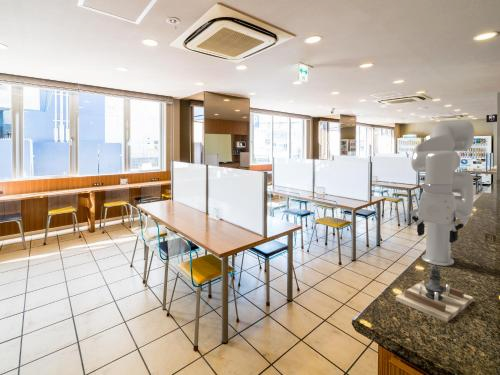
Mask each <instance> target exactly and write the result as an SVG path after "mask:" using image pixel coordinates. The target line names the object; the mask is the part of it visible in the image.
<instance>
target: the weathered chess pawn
mask: <svg viewBox="0 0 500 375" xmlns="http://www.w3.org/2000/svg"><path fill="white" fill-rule="evenodd" d="M429 273H430V274H429V275H428V277H429V280H430V281H429V283H426V284H425V287H426V290H427V292H428V293H426V294H425V296H426V297H428V298H430V299H432V300H434V298H435V292H438V301H440V300H443V297H442V296H441V294H442V293H443V292H444V290H445V288H444V287H443V286H441V285H440V284H441V279H442V276H441V268H440V267H439V266H438V265H436V264H434V265H431V266H430V268H429Z"/></svg>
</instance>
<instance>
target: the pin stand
mask: <svg viewBox="0 0 500 375" xmlns="http://www.w3.org/2000/svg"><path fill="white" fill-rule="evenodd" d="M429 281H430V279H428V278H426V279H424V280H422V281H419V282H418V283H416V284H415V285H413V286H412V287H411V286H410V288H408V289H406V290H404V291H402V292H400V293H399V294H397V295H396V296H395V302H399V303H401V304H403V305H406V306H409V307H410V308H413V309H416V310H417V311H420V312H421V313H424V314H427V315H430V316H431V317H434V318H436V319H439V320H441V321H443V322H446V323H448V322H450V320H452V319H453V318H454V317H456V316H457V315H458V314H460V313H461V312H462V311H463V310H465V308H466V307H468V306H469V305H470V304H472V303H473V302H474V296H471V295H468V294H465V290H461V289H458V288H454V287H452V286H450V284H448V283H446V285H445V284H443V283H440V285H441V286H443V287H444V288H445V290H444V292H443V293H442V294H441V296H442V297H443V300H440V301H438V292H435V298H434V300H432V299H430V298H428V297H426V296H425V294H426V293H428V292H427V290H426V287H425V284H426V283H429Z"/></svg>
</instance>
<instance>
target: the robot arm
mask: <svg viewBox="0 0 500 375" xmlns="http://www.w3.org/2000/svg"><path fill="white" fill-rule="evenodd" d="M474 139H475V127H474V125H473V123H472V122H470V121H468V120H467V121H466V120H461V121H460V120H459V121H450V122H440V123H437V124H436V125H434V126H433V127H432V128H431V129H430V132H429V134H428V135H426V136H425V137H424V141H422V142H420V143H418V144H417V145H416V146H415V148H414V149H413V152H412V156H411V162H410V163H411V168H412V170H414V171H415V172H417V173H425V175H424V184H421V185H420V189H423V191H422V192H421V193H420V194H421V195H420V199H419V204H418V208H415V209H412V210H410V211H409V214H410V216H411V219H412V220H413V221H414V222H415V224H416V226H417V227H416V232H417V236H418V237H419V236H420V237H422V236H423V235H426V236H425V239H426V240H425V254H422V255H421V259H422V261H424V262H426V263H427V264H432V265H435V264H436V266H442V267H444V266H445V267H447V266H452V265H454V264H455V260H454V259H453V258H452V257H451V254H452V250H451V249H452V248H451V244H453V243H455V242H457V240H458V237H459V236H458V235H459V230H461V229H462V228H464V227H465V226H466V225H467V223H468V222H469V220H470V219H469V217H470V216H472V214H473V210H474V178H473V175H472V173H470V172H468V171H456V170H457V169H458V168H460V165H461V156H460V155H459V154H458V153H457V152H465V151H468V150H470V149H471V148H472V146H473V143H474ZM454 193H456V194H457V193H458V194H459V195H455V194H454ZM457 219H459V220H460V222H459V223H458V224H457V222H456V221H457ZM424 222H426V232H425V223H424ZM425 233H426V234H425Z"/></svg>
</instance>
